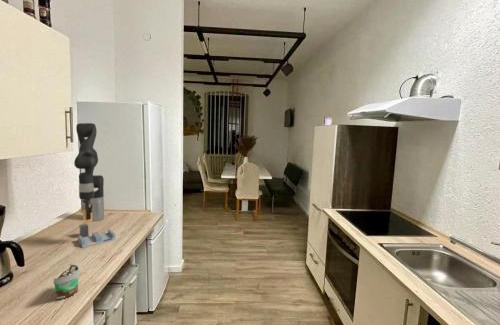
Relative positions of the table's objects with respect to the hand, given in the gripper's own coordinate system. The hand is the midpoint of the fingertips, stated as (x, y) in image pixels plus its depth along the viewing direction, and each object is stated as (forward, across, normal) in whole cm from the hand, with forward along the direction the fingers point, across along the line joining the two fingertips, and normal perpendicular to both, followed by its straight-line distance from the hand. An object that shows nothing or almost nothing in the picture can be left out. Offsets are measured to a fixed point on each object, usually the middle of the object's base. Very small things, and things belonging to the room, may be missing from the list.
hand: (87, 218), depth 160 cm
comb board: (+15, 0, +4) cm, 16 cm away
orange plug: (+1, 0, 0) cm, 1 cm away
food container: (+15, +51, -17) cm, 56 cm away
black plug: (+15, -12, 0) cm, 19 cm away
